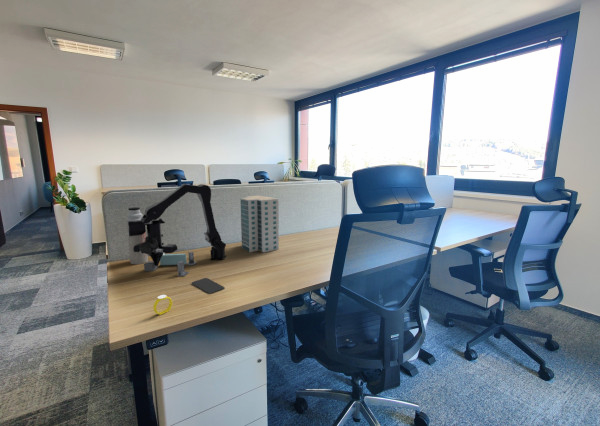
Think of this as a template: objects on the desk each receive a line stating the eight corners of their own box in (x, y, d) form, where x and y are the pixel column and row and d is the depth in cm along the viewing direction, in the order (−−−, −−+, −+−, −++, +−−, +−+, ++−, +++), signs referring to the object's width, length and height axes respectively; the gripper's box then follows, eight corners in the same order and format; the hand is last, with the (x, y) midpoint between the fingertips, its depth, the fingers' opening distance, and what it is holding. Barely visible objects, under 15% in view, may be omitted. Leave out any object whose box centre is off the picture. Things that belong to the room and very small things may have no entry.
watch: (157, 318, 94) (155, 302, 92) (153, 315, 95) (150, 299, 94) (174, 309, 99) (172, 293, 97) (169, 307, 100) (167, 291, 99)
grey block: (188, 272, 132) (188, 260, 131) (184, 276, 127) (183, 263, 126) (182, 272, 132) (181, 260, 131) (177, 276, 128) (176, 263, 127)
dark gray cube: (157, 268, 137) (157, 261, 136) (152, 271, 133) (151, 264, 132) (149, 267, 137) (149, 261, 137) (144, 271, 133) (143, 263, 133)
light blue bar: (185, 264, 142) (185, 253, 141) (160, 265, 140) (159, 254, 139) (186, 262, 144) (186, 251, 143) (161, 264, 142) (160, 252, 141)
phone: (209, 293, 110) (190, 282, 120) (209, 295, 110) (190, 284, 120) (225, 287, 115) (206, 277, 125) (226, 289, 116) (206, 279, 125)
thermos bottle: (151, 259, 149) (147, 206, 144) (140, 264, 141) (135, 209, 137) (138, 258, 151) (133, 206, 146) (126, 263, 143) (120, 208, 138)
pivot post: (197, 262, 145) (197, 251, 144) (193, 265, 141) (193, 254, 140) (189, 262, 146) (188, 250, 144) (185, 265, 141) (184, 253, 140)
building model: (238, 245, 175) (236, 197, 170) (261, 241, 185) (260, 195, 179) (254, 254, 159) (252, 201, 154) (278, 249, 169) (278, 198, 163)
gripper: (123, 237, 125) (126, 271, 128) (163, 238, 123) (166, 272, 126) (139, 231, 136) (142, 262, 139) (176, 232, 134) (179, 264, 137)
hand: (156, 265), depth 135 cm, fingers closed
